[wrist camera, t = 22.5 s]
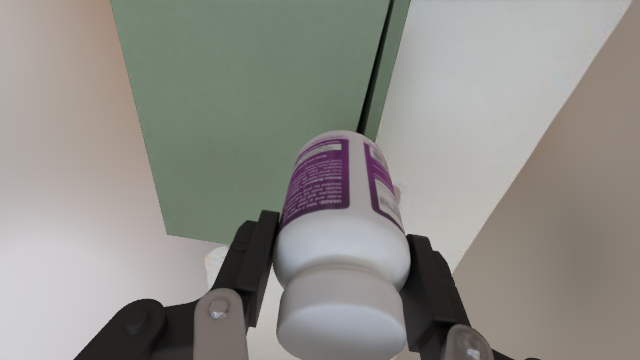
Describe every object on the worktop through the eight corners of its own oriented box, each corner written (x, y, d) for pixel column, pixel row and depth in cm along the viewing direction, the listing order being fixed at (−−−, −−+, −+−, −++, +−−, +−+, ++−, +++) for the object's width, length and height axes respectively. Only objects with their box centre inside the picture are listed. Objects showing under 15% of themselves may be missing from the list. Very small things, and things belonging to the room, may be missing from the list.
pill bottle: (291, 196, 18) (250, 366, 10) (299, 120, 15) (248, 278, 7) (374, 209, 18) (399, 386, 10) (399, 135, 15) (464, 309, 7)
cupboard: (365, -12, 36) (393, -11, 17) (330, 155, 51) (323, 259, 32) (230, -39, 36) (92, -70, 16) (234, 138, 51) (166, 234, 31)
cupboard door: (418, -5, 36) (504, 5, 17) (373, 161, 51) (392, 267, 32) (367, -12, 36) (396, -9, 17) (338, 157, 51) (335, 260, 32)
